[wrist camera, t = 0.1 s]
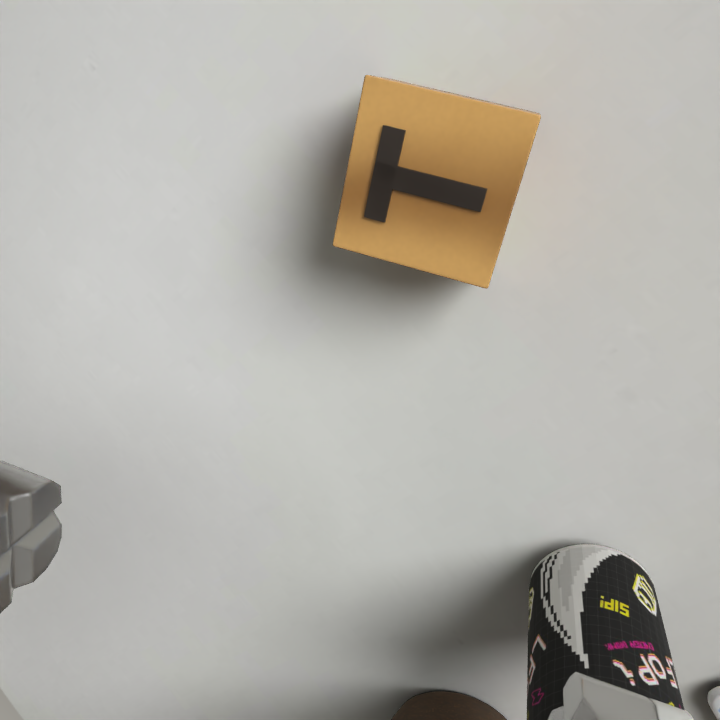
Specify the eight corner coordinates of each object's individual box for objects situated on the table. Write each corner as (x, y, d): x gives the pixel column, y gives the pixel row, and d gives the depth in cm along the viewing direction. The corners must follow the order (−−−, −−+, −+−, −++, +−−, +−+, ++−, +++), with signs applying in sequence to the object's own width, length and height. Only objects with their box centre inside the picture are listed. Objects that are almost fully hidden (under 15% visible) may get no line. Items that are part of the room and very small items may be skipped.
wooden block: (389, 78, 24) (363, 74, 21) (540, 113, 23) (541, 115, 20) (359, 227, 27) (330, 246, 23) (494, 264, 26) (487, 290, 22)
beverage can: (530, 528, 30) (527, 761, 20) (658, 540, 29) (731, 800, 18) (527, 619, 32) (523, 875, 22) (647, 635, 31) (706, 918, 20)
